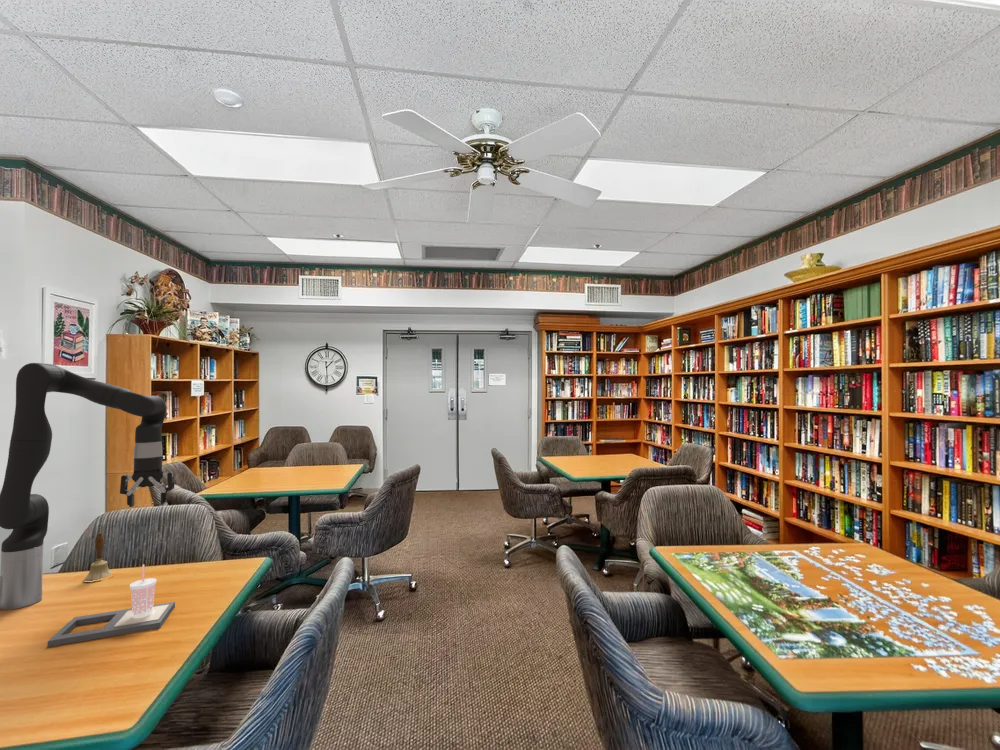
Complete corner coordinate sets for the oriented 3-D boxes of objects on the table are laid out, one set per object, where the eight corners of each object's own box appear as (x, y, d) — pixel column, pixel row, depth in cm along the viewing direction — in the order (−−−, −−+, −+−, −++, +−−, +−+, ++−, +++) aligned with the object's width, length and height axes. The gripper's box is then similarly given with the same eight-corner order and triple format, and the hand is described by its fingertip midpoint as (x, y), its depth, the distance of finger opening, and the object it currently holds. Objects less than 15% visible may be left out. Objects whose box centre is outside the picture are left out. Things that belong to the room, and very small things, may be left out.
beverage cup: (151, 607, 136) (152, 559, 136) (159, 613, 132) (160, 563, 133) (125, 616, 131) (126, 565, 131) (133, 621, 127) (134, 569, 128)
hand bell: (119, 574, 168) (120, 530, 168) (95, 583, 159) (96, 536, 160) (102, 573, 169) (102, 529, 170) (76, 582, 161) (77, 535, 162)
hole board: (47, 647, 118) (47, 640, 118) (74, 622, 131) (74, 616, 131) (160, 628, 127) (160, 621, 127) (174, 606, 140) (174, 601, 140)
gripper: (117, 458, 147) (116, 510, 147) (170, 455, 153) (169, 505, 152) (126, 455, 154) (125, 505, 154) (176, 453, 160) (176, 500, 159)
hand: (147, 505), depth 153 cm, fingers open, 8 cm apart
